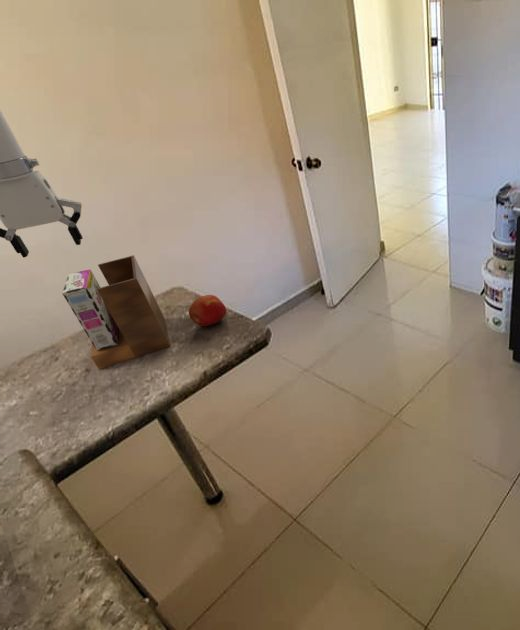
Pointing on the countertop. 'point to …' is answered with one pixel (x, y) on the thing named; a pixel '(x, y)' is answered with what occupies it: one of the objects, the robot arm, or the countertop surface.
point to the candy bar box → (91, 309)
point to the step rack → (130, 313)
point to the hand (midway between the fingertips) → (53, 248)
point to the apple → (207, 310)
